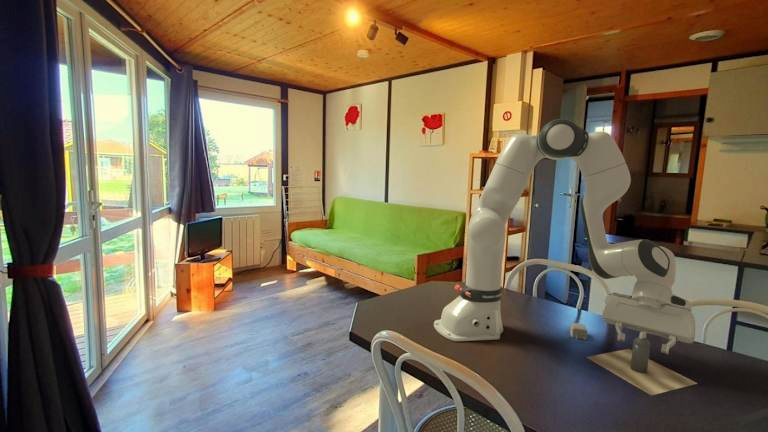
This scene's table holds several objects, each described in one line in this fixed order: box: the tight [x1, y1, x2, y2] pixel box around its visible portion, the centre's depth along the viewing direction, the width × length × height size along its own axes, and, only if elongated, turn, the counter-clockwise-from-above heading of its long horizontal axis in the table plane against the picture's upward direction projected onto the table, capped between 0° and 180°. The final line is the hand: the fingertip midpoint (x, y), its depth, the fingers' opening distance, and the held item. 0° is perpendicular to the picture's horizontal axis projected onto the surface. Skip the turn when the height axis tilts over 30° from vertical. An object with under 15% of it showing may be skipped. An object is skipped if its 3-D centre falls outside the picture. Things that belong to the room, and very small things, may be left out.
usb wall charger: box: [569, 322, 588, 341], centre depth 115 cm, size 4×7×4 cm, turn 161°
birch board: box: [586, 348, 699, 396], centre depth 97 cm, size 16×18×1 cm
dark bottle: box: [630, 331, 651, 373], centre depth 96 cm, size 4×4×10 cm
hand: (641, 346), depth 97 cm, fingers open, 8 cm apart
